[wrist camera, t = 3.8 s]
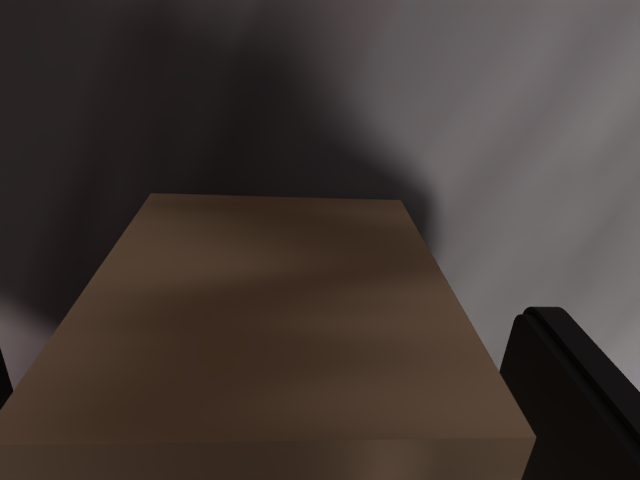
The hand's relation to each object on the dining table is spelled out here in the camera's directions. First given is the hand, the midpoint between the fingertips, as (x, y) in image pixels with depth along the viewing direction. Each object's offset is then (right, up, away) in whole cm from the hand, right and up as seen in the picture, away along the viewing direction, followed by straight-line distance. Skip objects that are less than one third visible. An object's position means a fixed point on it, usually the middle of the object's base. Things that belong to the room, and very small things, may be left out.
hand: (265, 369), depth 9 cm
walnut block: (0, +1, +2) cm, 2 cm away
